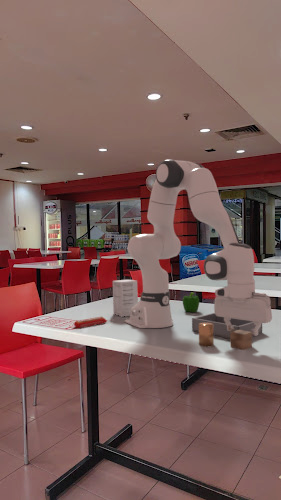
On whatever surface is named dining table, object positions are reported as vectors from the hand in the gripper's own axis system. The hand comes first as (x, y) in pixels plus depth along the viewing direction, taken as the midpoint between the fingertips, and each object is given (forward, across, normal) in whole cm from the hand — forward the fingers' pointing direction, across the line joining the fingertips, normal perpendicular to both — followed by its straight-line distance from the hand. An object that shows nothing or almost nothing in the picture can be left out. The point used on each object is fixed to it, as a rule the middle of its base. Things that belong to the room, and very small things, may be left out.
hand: (242, 332), depth 124 cm
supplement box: (+4, +72, -8) cm, 72 cm away
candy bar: (+4, +65, +17) cm, 68 cm away
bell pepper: (+4, +53, -35) cm, 63 cm away
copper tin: (+5, +11, +6) cm, 13 cm away
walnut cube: (+5, +1, 0) cm, 5 cm away
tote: (+4, +16, -13) cm, 21 cm away
